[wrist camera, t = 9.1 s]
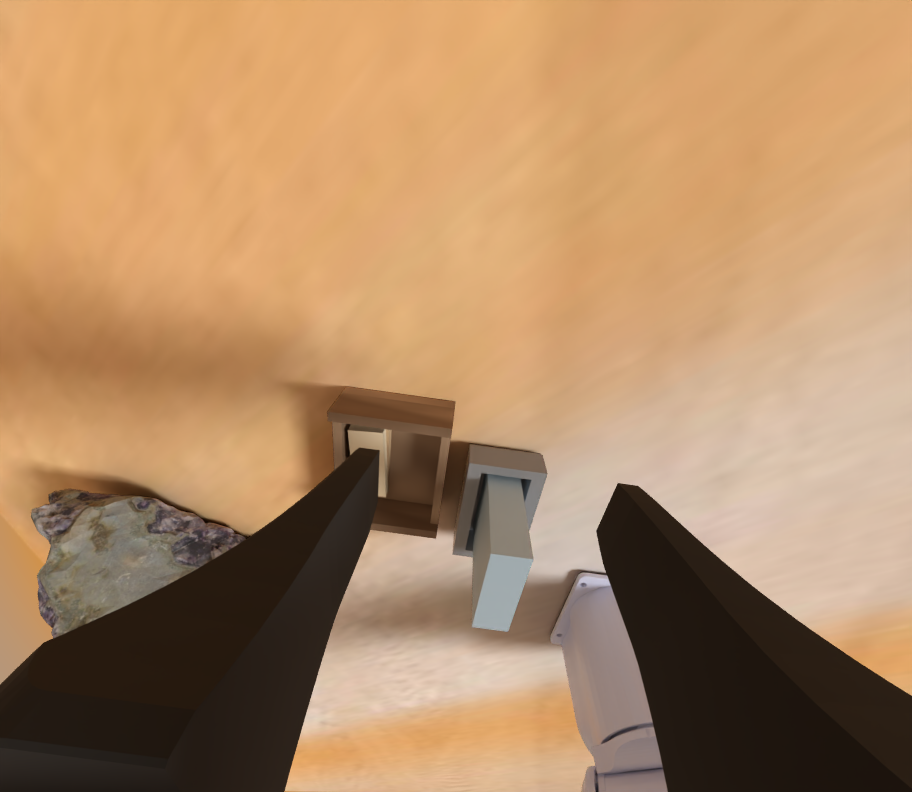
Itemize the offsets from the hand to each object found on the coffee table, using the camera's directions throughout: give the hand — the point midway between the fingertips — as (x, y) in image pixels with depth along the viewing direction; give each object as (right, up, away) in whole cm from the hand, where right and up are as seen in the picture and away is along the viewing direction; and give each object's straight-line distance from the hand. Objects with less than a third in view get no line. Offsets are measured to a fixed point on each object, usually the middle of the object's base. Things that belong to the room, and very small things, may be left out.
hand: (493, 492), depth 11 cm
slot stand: (+2, -4, +14) cm, 14 cm away
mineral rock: (-22, -7, +17) cm, 28 cm away
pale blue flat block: (+2, -4, +13) cm, 14 cm away
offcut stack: (-6, -1, +12) cm, 13 cm away
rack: (-5, -1, +12) cm, 13 cm away
